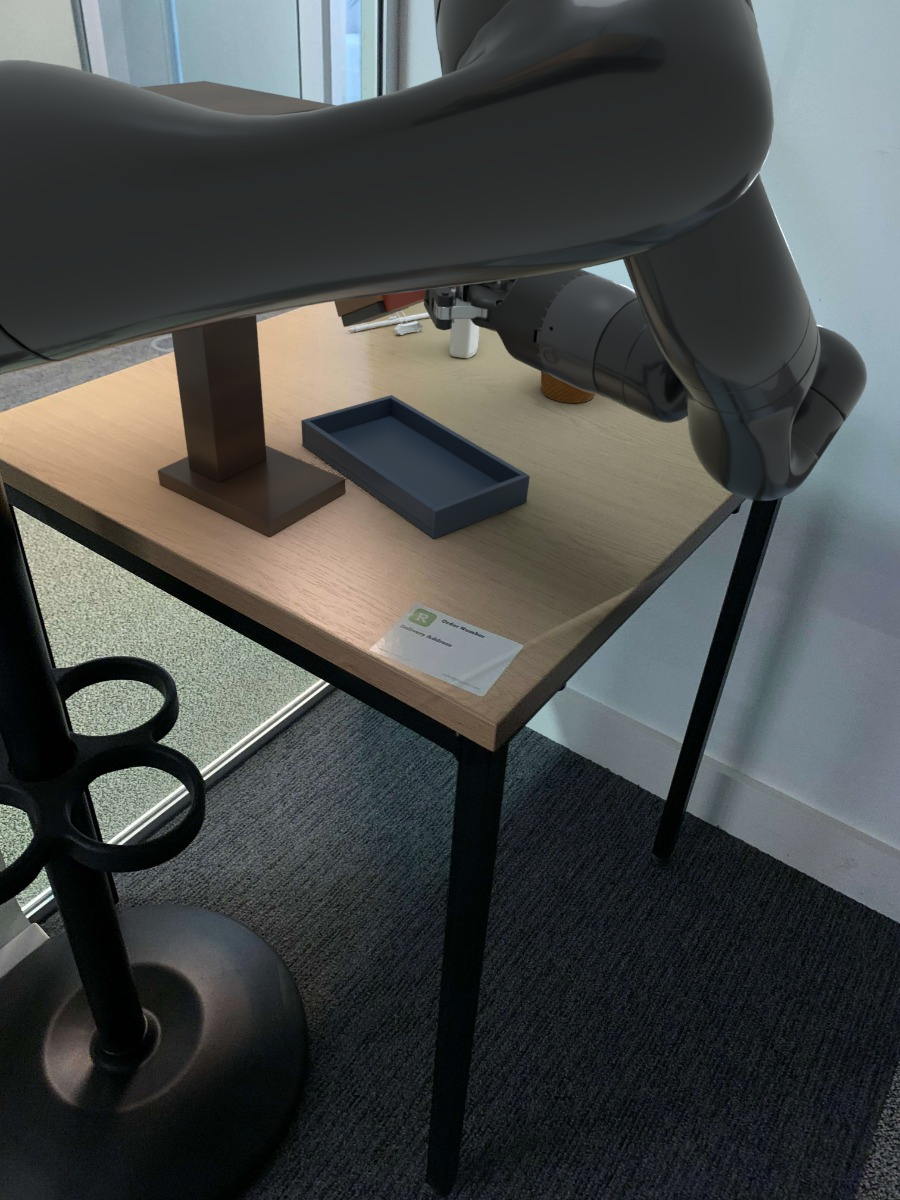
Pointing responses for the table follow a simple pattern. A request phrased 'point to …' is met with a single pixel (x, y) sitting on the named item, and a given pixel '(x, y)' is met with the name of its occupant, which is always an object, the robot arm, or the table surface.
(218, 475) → the shelf stand
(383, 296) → the brush
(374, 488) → the tray
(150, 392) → the table surface
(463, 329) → the eye dropper bottle
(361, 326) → the picture light
